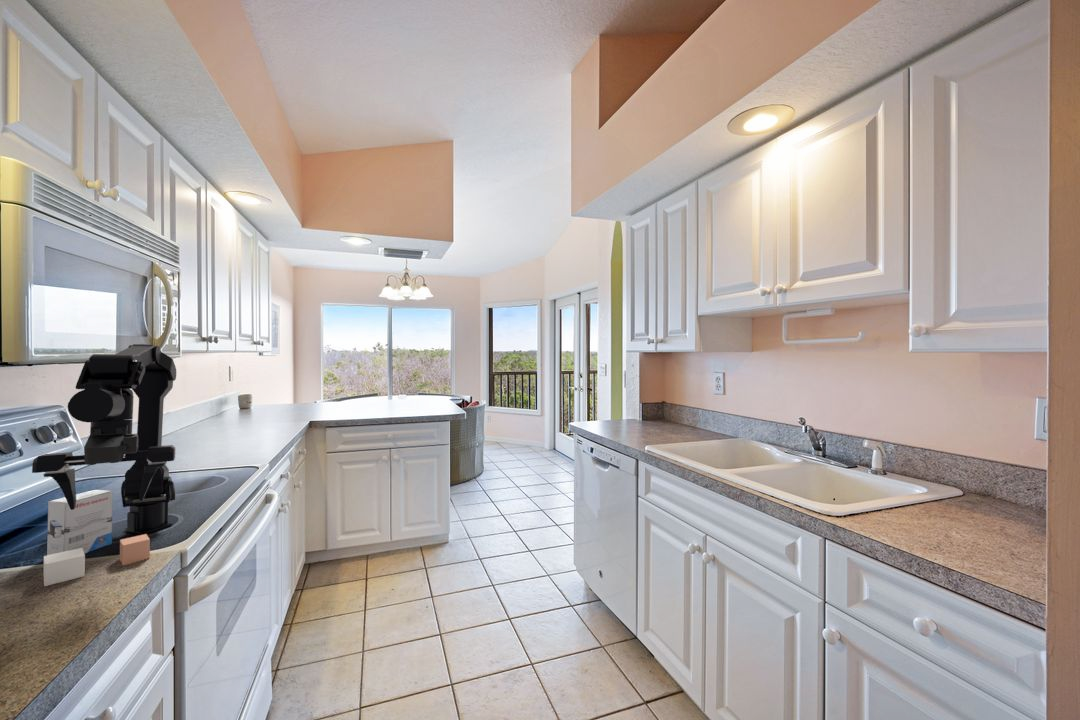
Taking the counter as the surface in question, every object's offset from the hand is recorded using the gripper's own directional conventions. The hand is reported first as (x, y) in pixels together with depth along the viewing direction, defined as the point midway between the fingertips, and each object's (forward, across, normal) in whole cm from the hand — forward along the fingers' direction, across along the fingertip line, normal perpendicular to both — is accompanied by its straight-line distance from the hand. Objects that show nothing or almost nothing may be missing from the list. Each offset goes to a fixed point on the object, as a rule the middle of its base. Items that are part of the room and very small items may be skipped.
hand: (108, 504), depth 83 cm
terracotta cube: (+13, +3, +8) cm, 15 cm away
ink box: (+12, -6, +19) cm, 23 cm away
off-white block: (+13, -6, +6) cm, 16 cm away
